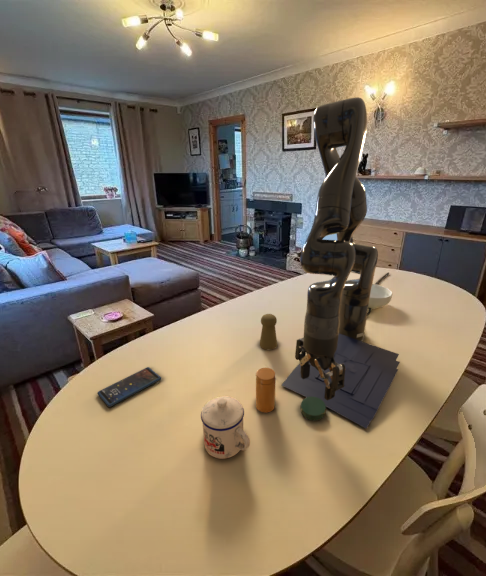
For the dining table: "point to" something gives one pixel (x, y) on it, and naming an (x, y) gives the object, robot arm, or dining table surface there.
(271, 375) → the jar
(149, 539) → the dining table surface
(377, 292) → the cereal bowl
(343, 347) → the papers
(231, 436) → the teacup with lid
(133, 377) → the smartphone
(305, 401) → the lid
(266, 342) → the brown rounded tall piece
